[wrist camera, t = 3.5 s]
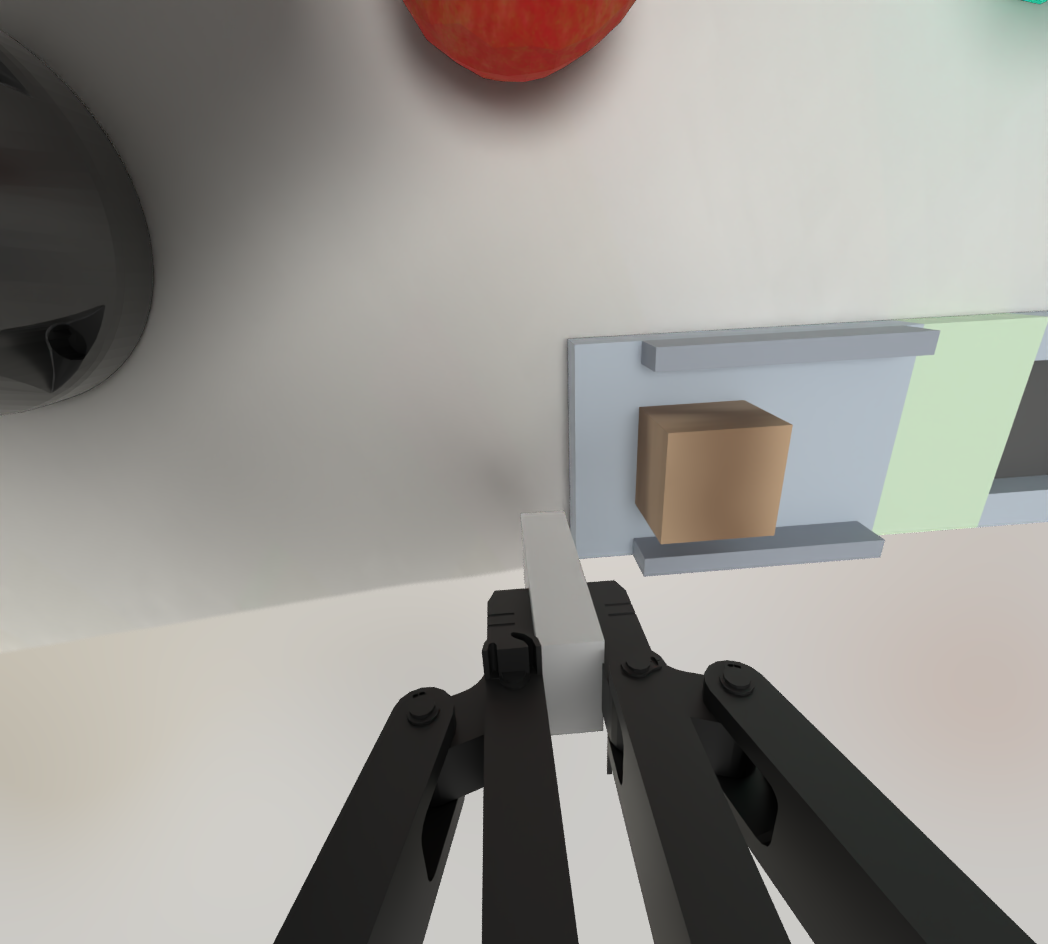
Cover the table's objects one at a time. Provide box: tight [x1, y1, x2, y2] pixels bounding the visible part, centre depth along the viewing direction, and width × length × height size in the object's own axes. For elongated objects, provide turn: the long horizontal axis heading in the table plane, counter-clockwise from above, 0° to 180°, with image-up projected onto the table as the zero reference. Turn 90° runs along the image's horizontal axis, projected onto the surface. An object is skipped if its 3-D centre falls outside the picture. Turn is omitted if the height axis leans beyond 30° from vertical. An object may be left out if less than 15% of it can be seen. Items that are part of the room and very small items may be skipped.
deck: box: [568, 311, 1048, 576], centre depth 25 cm, size 30×11×4 cm, turn 93°
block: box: [635, 400, 793, 544], centre depth 22 cm, size 5×5×4 cm
